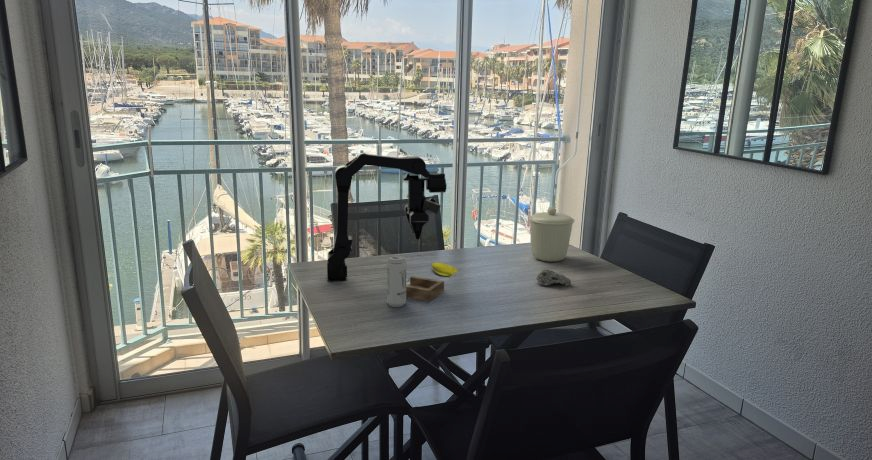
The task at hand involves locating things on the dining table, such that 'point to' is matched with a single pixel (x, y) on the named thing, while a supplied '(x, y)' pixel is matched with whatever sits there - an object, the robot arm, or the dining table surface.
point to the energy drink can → (396, 281)
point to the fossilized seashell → (552, 278)
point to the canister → (550, 235)
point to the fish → (443, 269)
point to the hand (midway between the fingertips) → (415, 236)
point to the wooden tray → (424, 288)
